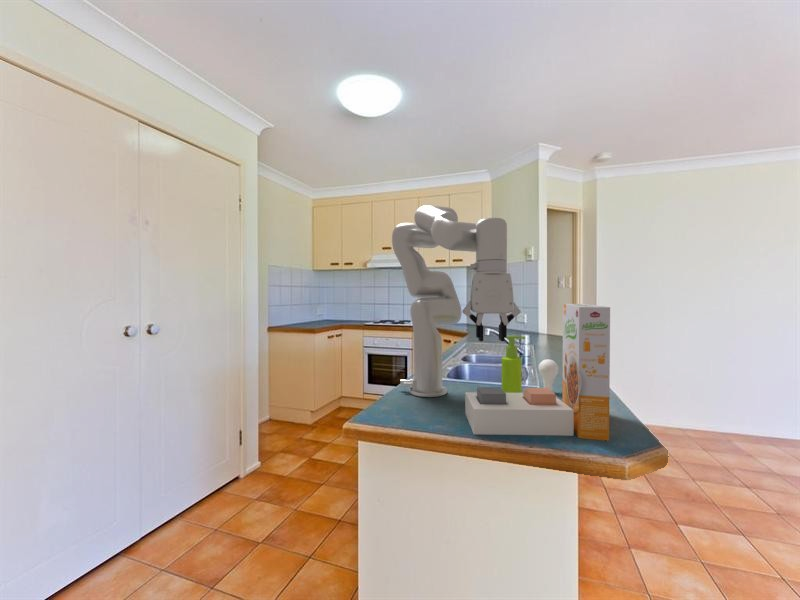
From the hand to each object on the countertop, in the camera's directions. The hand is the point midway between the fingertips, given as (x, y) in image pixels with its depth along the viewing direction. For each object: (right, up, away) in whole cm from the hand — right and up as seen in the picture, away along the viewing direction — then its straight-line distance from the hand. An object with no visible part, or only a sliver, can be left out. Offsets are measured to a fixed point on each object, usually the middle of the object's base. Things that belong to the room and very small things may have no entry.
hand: (491, 339), depth 90 cm
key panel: (+6, -21, 0) cm, 22 cm away
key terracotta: (+12, -17, 0) cm, 21 cm away
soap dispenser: (+12, -21, +20) cm, 31 cm away
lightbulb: (+26, -21, +28) cm, 44 cm away
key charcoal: (0, -17, 0) cm, 17 cm away
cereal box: (+24, -21, +2) cm, 32 cm away
